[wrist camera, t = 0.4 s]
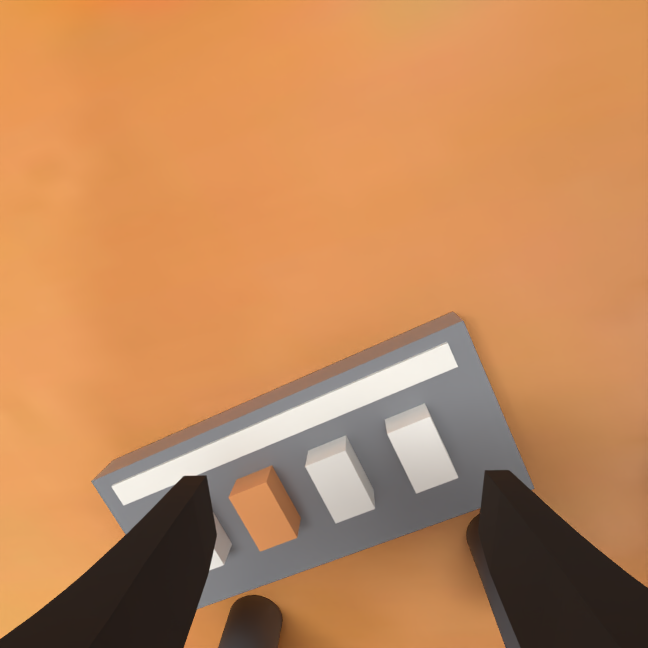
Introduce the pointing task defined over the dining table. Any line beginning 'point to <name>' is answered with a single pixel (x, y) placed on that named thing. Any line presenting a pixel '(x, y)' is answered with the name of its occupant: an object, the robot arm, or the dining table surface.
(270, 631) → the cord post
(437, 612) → the dining table surface
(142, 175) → the dining table surface
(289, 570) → the breaker panel
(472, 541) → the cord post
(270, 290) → the dining table surface
